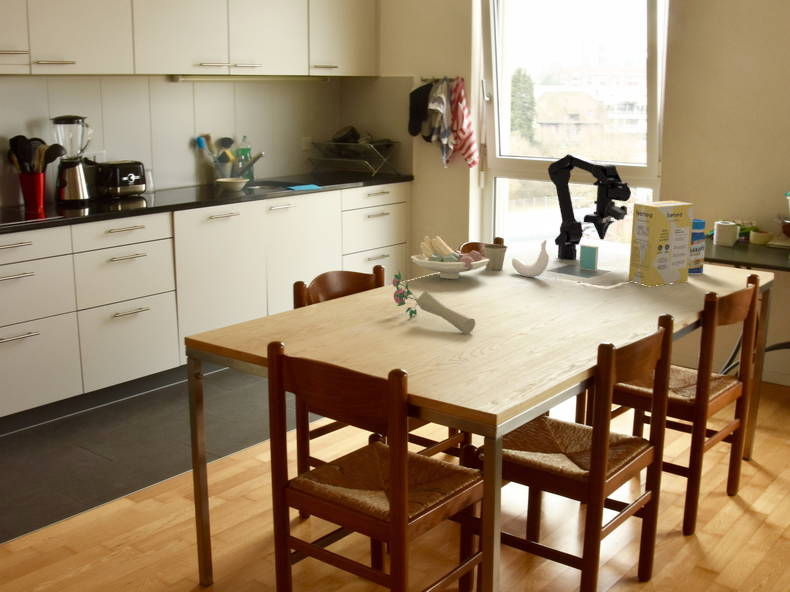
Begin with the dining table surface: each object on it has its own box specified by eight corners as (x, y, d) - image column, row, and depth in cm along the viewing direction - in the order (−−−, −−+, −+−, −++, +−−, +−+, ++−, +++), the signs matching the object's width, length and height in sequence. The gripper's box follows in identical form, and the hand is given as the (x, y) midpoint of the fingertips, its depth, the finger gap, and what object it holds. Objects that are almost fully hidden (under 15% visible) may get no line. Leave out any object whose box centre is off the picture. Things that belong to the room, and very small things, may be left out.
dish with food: (426, 267, 337) (427, 230, 334) (497, 273, 327) (498, 235, 323) (399, 281, 312) (399, 242, 309) (474, 289, 302) (476, 248, 298)
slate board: (545, 272, 328) (546, 270, 328) (569, 266, 339) (569, 264, 339) (587, 280, 316) (587, 277, 316) (610, 273, 327) (611, 271, 327)
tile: (579, 268, 332) (580, 244, 330) (580, 267, 333) (582, 244, 331) (595, 271, 328) (596, 247, 326) (597, 270, 329) (598, 246, 326)
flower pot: (510, 268, 336) (511, 245, 334) (500, 272, 328) (500, 249, 326) (488, 265, 341) (489, 243, 339) (477, 269, 333) (478, 247, 331)
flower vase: (454, 360, 248) (375, 310, 271) (485, 340, 255) (405, 293, 277) (453, 326, 242) (371, 278, 264) (484, 307, 248) (402, 262, 271)
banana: (514, 271, 331) (516, 232, 327) (551, 280, 316) (553, 240, 312) (505, 272, 328) (506, 233, 325) (542, 281, 313) (543, 241, 310)
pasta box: (665, 276, 323) (671, 200, 317) (687, 281, 314) (694, 203, 308) (628, 281, 315) (633, 203, 308) (650, 287, 306) (656, 207, 299)
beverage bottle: (701, 271, 332) (706, 218, 327) (704, 276, 324) (709, 222, 319) (678, 270, 333) (682, 218, 329) (681, 275, 325) (685, 221, 321)
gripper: (610, 202, 319) (607, 245, 322) (636, 198, 332) (633, 239, 335) (584, 199, 326) (581, 241, 330) (610, 195, 339) (607, 235, 343)
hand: (601, 239), depth 334 cm, fingers closed
